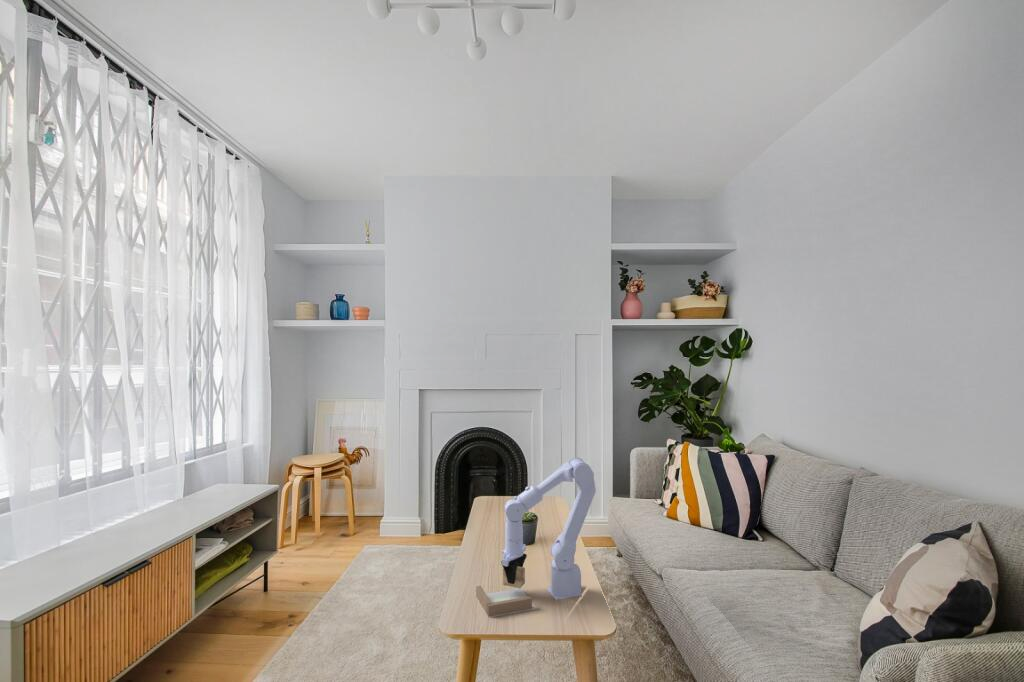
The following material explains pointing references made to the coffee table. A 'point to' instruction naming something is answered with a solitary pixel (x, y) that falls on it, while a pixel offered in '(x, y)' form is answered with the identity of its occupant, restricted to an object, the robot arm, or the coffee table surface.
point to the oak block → (518, 580)
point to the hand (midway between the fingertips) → (514, 580)
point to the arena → (504, 601)
